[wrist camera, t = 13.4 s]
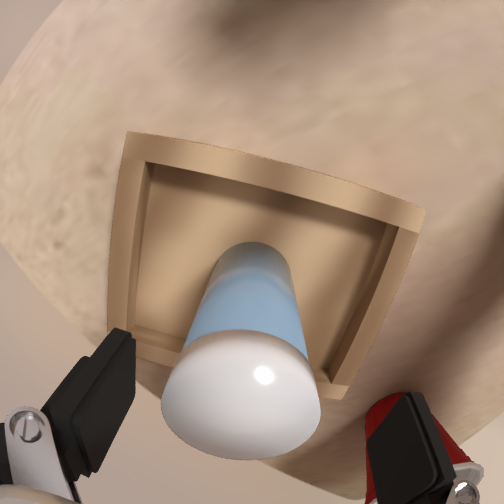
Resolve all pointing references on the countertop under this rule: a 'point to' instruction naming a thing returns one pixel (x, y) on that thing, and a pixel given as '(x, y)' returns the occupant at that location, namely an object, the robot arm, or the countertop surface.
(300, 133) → the countertop surface
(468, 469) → the plastic cup
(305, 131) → the countertop surface
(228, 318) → the shaker
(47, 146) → the countertop surface
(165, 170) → the tray
